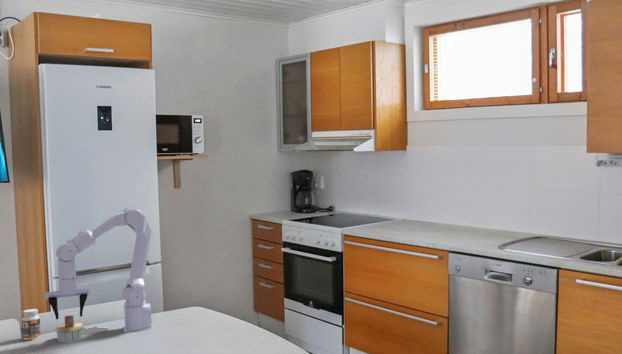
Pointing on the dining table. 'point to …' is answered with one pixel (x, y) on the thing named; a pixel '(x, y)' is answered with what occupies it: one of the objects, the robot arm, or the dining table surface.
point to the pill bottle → (30, 324)
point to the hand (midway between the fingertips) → (69, 317)
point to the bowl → (69, 336)
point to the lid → (69, 325)
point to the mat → (93, 330)
